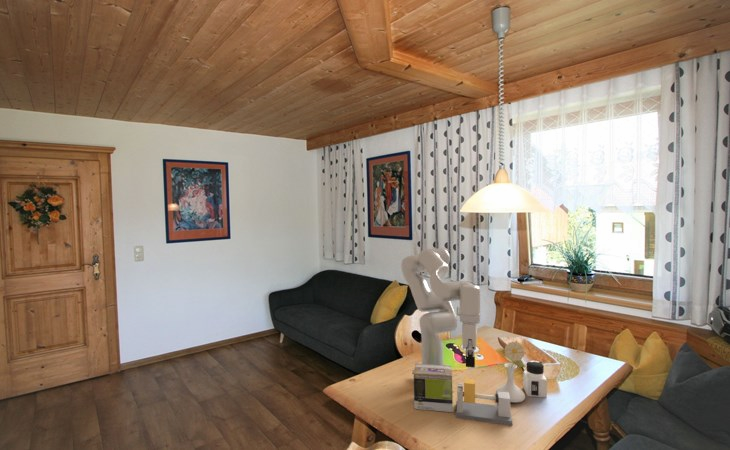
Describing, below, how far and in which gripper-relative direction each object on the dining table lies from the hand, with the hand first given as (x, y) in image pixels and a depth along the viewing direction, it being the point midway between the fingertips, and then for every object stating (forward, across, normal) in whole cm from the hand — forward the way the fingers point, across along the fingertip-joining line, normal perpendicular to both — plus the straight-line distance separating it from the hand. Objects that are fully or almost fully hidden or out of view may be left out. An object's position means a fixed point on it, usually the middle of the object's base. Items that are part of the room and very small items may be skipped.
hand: (470, 361), depth 143 cm
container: (+20, -23, +27) cm, 41 cm away
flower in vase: (+20, -15, +17) cm, 30 cm away
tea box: (+20, -3, -14) cm, 25 cm away
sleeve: (+15, 0, 0) cm, 15 cm away
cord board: (+20, 0, +5) cm, 21 cm away
